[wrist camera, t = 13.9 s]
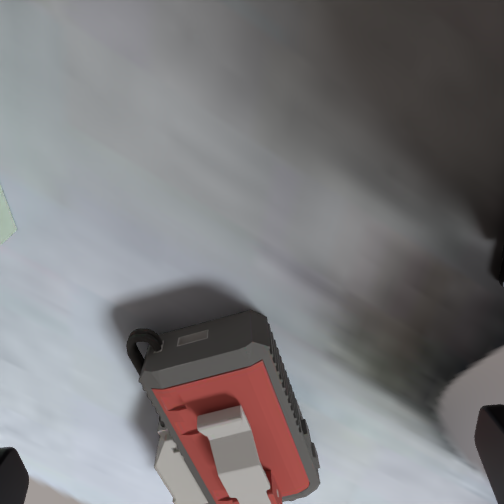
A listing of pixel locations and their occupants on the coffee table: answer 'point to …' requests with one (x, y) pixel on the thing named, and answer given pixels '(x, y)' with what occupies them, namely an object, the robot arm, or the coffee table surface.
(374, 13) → the coffee table surface
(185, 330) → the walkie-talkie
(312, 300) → the coffee table surface
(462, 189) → the coffee table surface
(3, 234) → the stand
